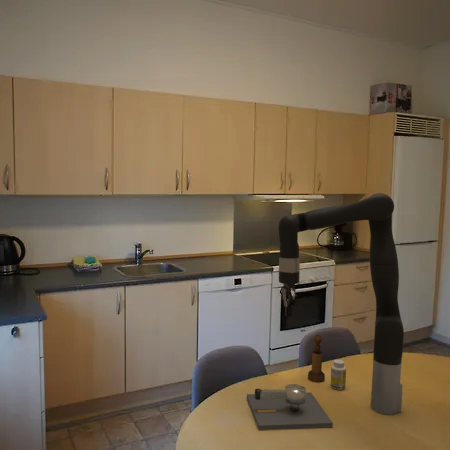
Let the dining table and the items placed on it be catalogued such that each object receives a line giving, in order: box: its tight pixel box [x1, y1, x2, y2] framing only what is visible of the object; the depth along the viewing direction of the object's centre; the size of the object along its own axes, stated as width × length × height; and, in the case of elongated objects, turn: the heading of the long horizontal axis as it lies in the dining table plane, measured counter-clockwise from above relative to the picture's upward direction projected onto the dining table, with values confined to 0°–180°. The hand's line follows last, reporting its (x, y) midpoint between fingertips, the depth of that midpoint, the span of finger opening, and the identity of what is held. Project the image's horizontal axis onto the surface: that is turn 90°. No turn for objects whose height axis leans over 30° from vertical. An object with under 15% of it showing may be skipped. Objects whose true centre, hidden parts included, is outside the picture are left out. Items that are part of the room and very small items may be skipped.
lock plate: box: [246, 391, 334, 431], centre depth 153 cm, size 24×22×2 cm
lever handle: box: [254, 383, 307, 412], centre depth 151 cm, size 17×7×7 cm, turn 93°
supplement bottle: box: [330, 359, 347, 391], centre depth 174 cm, size 6×6×10 cm
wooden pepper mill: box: [307, 334, 326, 383], centre depth 181 cm, size 7×6×18 cm
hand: (288, 316), depth 166 cm, fingers closed
